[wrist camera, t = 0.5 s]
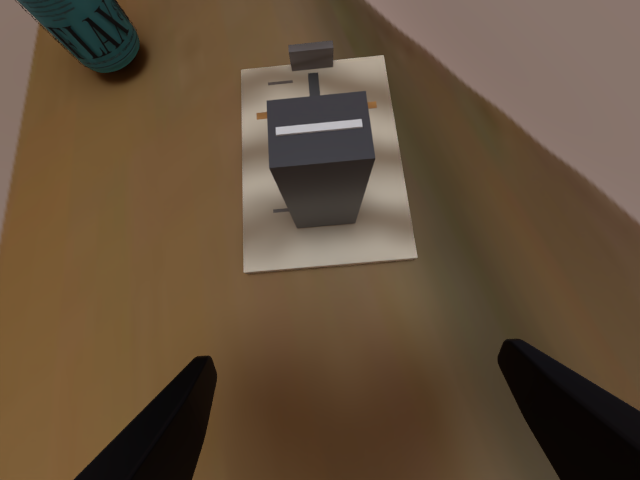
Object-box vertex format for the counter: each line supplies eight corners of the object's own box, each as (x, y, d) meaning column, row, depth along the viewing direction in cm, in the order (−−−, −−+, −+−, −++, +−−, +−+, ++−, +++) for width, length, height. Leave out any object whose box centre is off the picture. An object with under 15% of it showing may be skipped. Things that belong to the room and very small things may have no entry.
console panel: (413, 259, 22) (426, 253, 19) (247, 273, 22) (234, 269, 19) (381, 64, 27) (387, 34, 24) (244, 78, 27) (233, 50, 24)
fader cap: (355, 223, 21) (375, 157, 12) (297, 228, 22) (268, 166, 12) (350, 182, 22) (366, 89, 12) (294, 187, 22) (265, 98, 13)
